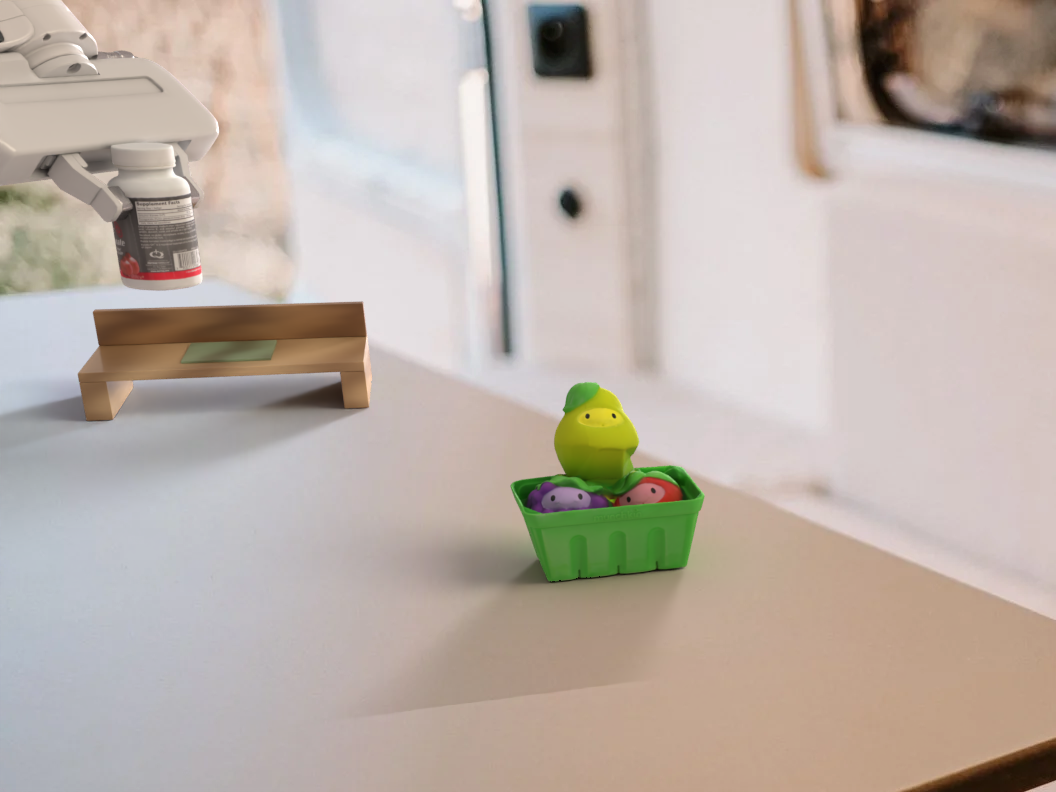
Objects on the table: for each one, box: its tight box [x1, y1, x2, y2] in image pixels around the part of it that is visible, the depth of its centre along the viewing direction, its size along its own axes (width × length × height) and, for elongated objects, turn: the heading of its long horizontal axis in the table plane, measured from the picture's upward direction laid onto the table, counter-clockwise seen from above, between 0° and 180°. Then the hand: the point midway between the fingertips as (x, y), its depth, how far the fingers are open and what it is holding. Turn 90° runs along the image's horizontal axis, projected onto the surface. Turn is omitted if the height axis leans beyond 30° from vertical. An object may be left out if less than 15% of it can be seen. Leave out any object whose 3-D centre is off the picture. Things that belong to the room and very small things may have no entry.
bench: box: [77, 300, 373, 422], centre depth 139 cm, size 22×11×7 cm, turn 107°
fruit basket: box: [510, 381, 706, 583], centre depth 104 cm, size 11×9×11 cm
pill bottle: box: [106, 143, 203, 292], centre depth 115 cm, size 5×5×10 cm
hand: (158, 209), depth 115 cm, fingers closed on pill bottle, 5 cm apart
